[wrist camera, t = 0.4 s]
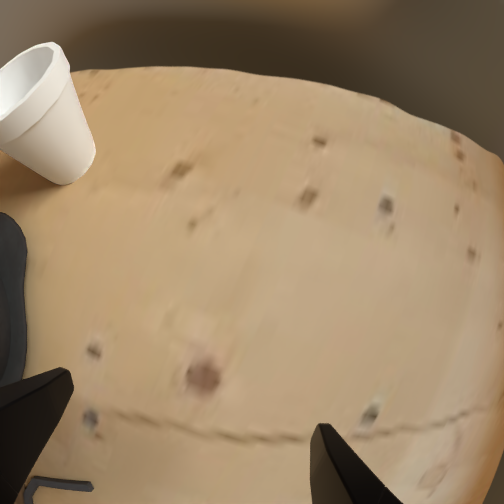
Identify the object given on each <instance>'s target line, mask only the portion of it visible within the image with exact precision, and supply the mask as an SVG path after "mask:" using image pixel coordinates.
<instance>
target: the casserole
mask: <svg viewBox="0 0 504 504" xmlns="http://www.w3.org/2000/svg"><path fill="white" fill-rule="evenodd" d="M26 258H27V246H26V239H25V236H24V234H23V232H22V230H21V228H20V227H19V225H18V224H17V223H16V222H15V220H14V219H12V218H11V217H10V216H8V215H7V214H5V213H1V212H0V387H2V386H5V385H8V384H11V383H14V382H17V381H20V380H22V376H23V372H24V368H25V361H26V351H27V323H26V314H25V302H24V277H25V267H26Z"/></svg>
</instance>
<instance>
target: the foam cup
mask: <svg viewBox="0 0 504 504" xmlns="http://www.w3.org/2000/svg"><path fill="white" fill-rule="evenodd" d="M69 70H70V66H69V63H68V61H67V59H66V57H65V55H64V53H63V51H62V49H61V47H60V46H59V45H57V44H55V43H54V42H49V43H43V44H38V45H36V46H34V47H32V48H30V49H28V50H26V51H24V52H22V53H20V54H19V55H17V56H16V57H15V58H14V59H12V60H11V61H10V62H8V63H7V64H6V65H5V66H3V67H2V68H1V69H0V150H2V151H3V152H5V153H6V154H8V155H9V156H11V157H12V158H14V159H16V160H17V161H19V162H20V163H22V164H23V165H25V166H27V167H28V168H30V169H31V170H33V171H35V172H36V173H38V174H39V175H41V176H43V177H44V178H46V179H47V180H49V181H51V182H53V183H55V184H59V185H66V184H69V183H73V182H75V181H76V180H77V179H79V178H80V177H81V176H83V175H84V174H85V173H86V171H87V170H88V168H89V167H90V166H91V164H92V162H93V159H94V156H95V153H96V150H95V143H94V141H93V137H92V135H91V132H90V130H89V127H88V124H87V122H86V119H85V117H84V114H83V111H82V108H81V106H80V103H79V100H78V97H77V94H76V91H75V88H74V85H73V82H72V79H71V76H70V73H69Z"/></svg>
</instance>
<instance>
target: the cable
mask: <svg viewBox="0 0 504 504" xmlns="http://www.w3.org/2000/svg"><path fill="white" fill-rule="evenodd" d="M38 486H45V487H51V488H58V489H65V490H74V491H86V492H91V491H92V490H93V489H94V488H93V486H92V484H91V482H88V481H73V480H63V479H54V478H46V477H40V476H35V477H34V478H32V479H31V481H30V483H29V484H28V486H27V488H26V490H25V492H24V493H23V497H24V503H25V504H33V499H32V496H33V495H34V493H35V491H36V490H37V488H38Z"/></svg>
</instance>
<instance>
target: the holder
mask: <svg viewBox="0 0 504 504" xmlns="http://www.w3.org/2000/svg"><path fill="white" fill-rule="evenodd" d="M24 492H25V484H24V485H23V487H22V489H21V491H20V492H19V494H18V497H17V499H16V501H15V503H14V504H25V503H24V497H23V493H24Z"/></svg>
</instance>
